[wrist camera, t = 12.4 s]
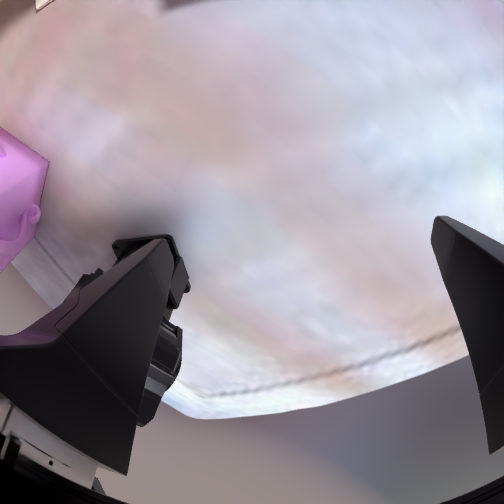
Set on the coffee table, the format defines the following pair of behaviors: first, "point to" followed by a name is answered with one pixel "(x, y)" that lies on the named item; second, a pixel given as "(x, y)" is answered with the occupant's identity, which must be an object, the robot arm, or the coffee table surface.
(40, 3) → the tile
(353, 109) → the coffee table surface
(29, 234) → the teapot
